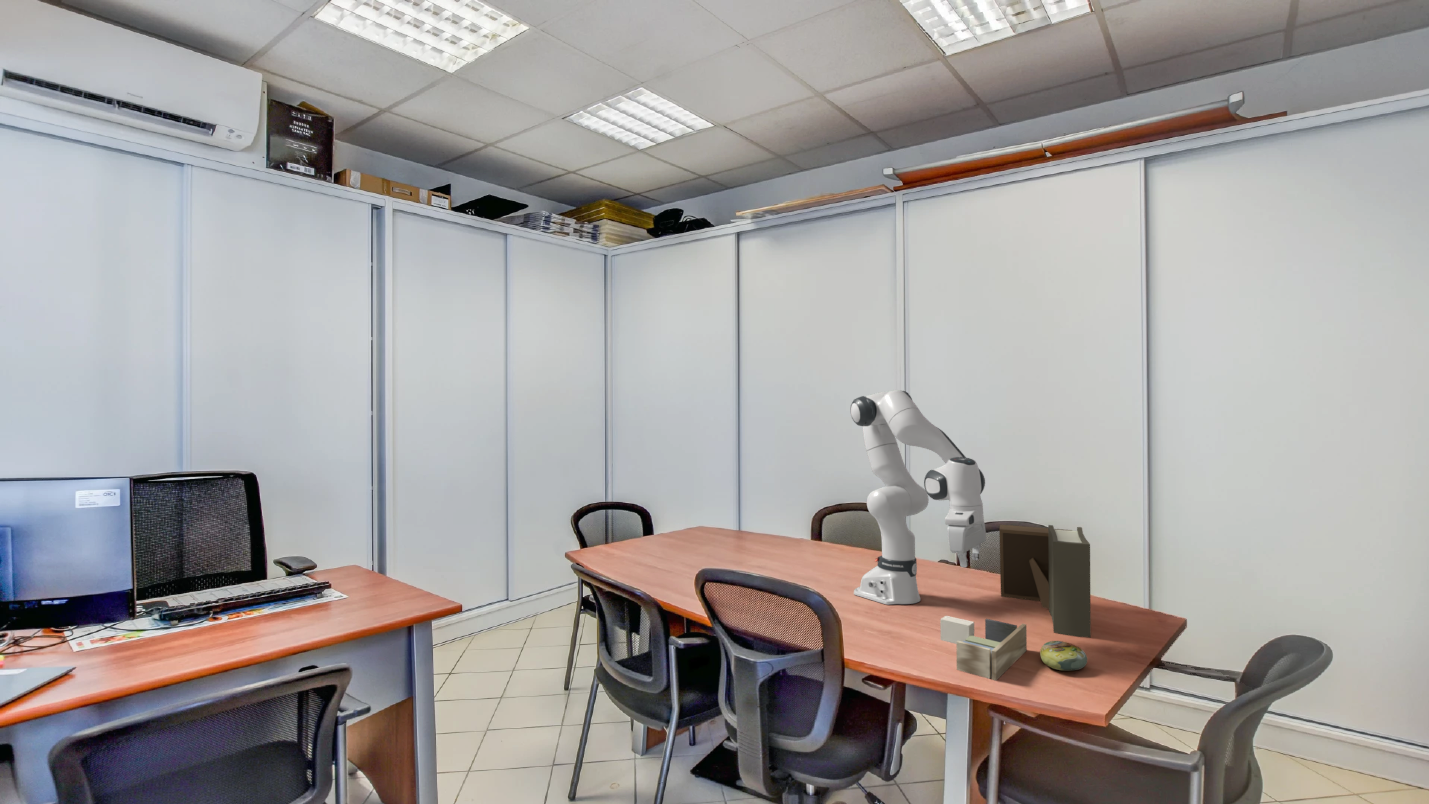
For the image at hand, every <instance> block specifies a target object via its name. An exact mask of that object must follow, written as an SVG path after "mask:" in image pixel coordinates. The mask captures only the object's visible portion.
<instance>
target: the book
mask: <svg viewBox="0 0 1429 804" xmlns="http://www.w3.org/2000/svg"><path fill="white" fill-rule="evenodd" d="M1054 527H1055V526H1054V525H1051V524H1048V527H1047V528H1048V547H1049V609H1048V612H1049V614H1050V616H1051V619H1052V620H1051V621H1052V624H1053V627H1052V628H1053V629H1052V630H1053V634H1054V633H1055V634H1059V635H1063V636H1070V637H1077V638H1091V637H1092V636H1091V635H1092V633H1091V632H1092V630H1091V628H1092V627H1091V625H1092V623H1091V621H1092V620H1091V543H1090V542H1089V541H1088V540H1087V538H1086V537H1085V534H1084V531H1083V527H1081V526H1078V527H1076V530H1073V531H1068V530H1069V529H1064V530H1057V529H1058V528H1054Z"/></svg>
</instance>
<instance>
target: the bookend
mask: <svg viewBox="0 0 1429 804" xmlns="http://www.w3.org/2000/svg"><path fill="white" fill-rule="evenodd" d="M984 622H985V623H984V624H985V625H984V627H985V628H984V632H985V633H984V634H985V635H984V637H985V638H984V639H988V640H992V641H997V642H1002V641H1003V640H1004V639H1005V638H1007V637H1008V636H1009V635H1010V634H1011V633H1012V632H1013V631H1015V630H1016V629H1017V628H1018V624H1013V623H1008V622H1004V621H1003V622H1002V621H1000V620H999V621H998V620H994V619H989V618H986V619H985V620H984Z"/></svg>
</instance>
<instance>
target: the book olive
mask: <svg viewBox="0 0 1429 804" xmlns="http://www.w3.org/2000/svg"><path fill="white" fill-rule="evenodd" d="M965 641H967V642H971V643H975V644H979V645H983V646H987V647H991V648H995V647H996V646H997V645H999V644H1000V643H1001V642H997V641H992V640H988V639H985V638H982V637H978V636H976V635H974V636H969V637H968V638H967V639H965Z"/></svg>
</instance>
